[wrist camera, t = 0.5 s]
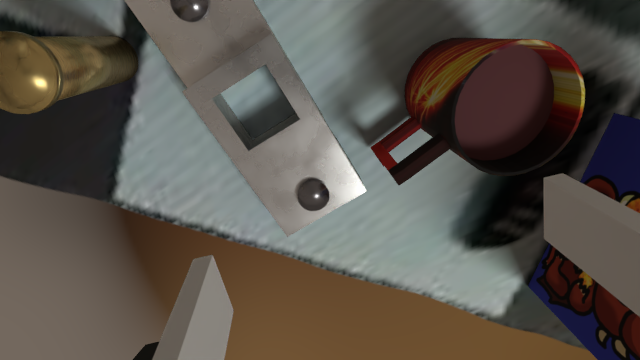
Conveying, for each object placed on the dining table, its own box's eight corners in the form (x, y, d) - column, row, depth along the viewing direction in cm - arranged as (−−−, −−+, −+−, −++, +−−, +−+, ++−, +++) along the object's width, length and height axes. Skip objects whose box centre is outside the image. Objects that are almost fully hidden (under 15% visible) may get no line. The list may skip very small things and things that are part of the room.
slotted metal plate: (124, -11, 34) (100, -17, 29) (210, -71, 33) (198, -87, 28) (287, 218, 42) (287, 239, 38) (359, 176, 41) (368, 193, 37)
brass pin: (77, 50, 35) (-49, 60, 22) (118, 22, 35) (13, 14, 21) (112, 94, 37) (14, 128, 24) (152, 68, 36) (73, 87, 23)
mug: (366, 148, 40) (395, 191, 29) (437, 18, 36) (503, 11, 25) (443, 185, 42) (498, 239, 31) (519, 66, 38) (612, 80, 27)
